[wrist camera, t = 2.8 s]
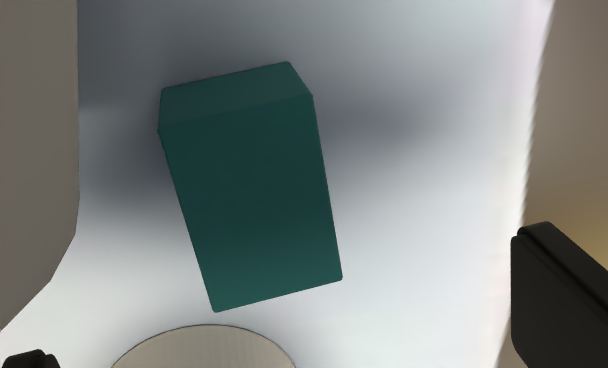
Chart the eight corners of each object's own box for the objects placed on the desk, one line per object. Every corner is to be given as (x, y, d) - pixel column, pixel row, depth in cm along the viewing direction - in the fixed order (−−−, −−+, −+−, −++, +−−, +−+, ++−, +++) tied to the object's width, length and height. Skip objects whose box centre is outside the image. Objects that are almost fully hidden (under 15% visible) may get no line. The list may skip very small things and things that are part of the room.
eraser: (160, 87, 17) (155, 128, 14) (289, 60, 17) (312, 93, 14) (208, 251, 20) (213, 314, 17) (319, 223, 20) (344, 281, 17)
